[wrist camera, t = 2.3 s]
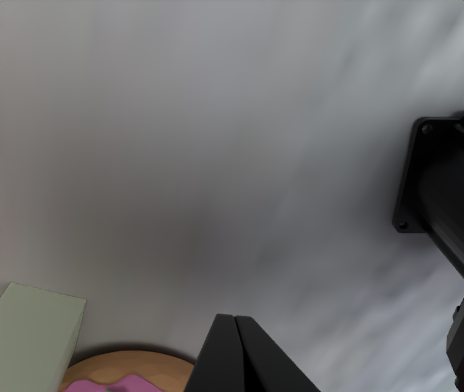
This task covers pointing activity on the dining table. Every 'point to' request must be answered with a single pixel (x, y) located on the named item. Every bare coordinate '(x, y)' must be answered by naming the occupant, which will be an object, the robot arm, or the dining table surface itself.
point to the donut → (128, 373)
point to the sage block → (36, 337)
